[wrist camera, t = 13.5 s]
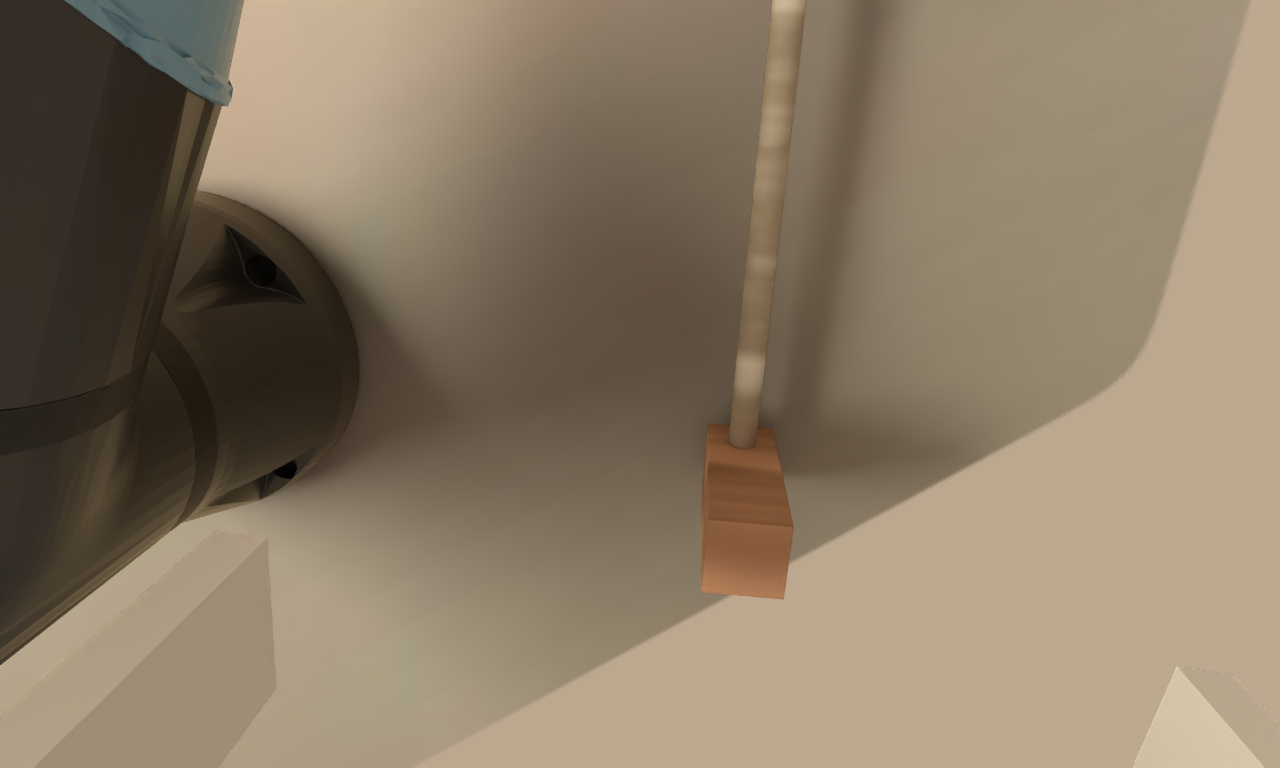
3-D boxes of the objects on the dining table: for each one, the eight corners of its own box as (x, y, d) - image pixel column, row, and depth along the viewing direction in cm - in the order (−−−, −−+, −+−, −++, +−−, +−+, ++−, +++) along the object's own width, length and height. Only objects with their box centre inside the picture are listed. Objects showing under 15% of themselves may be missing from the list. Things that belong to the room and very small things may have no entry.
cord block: (807, 490, 36) (838, 604, 28) (660, 477, 37) (647, 586, 28) (946, -485, 24) (1073, -803, 16) (727, -487, 25) (739, -798, 16)
